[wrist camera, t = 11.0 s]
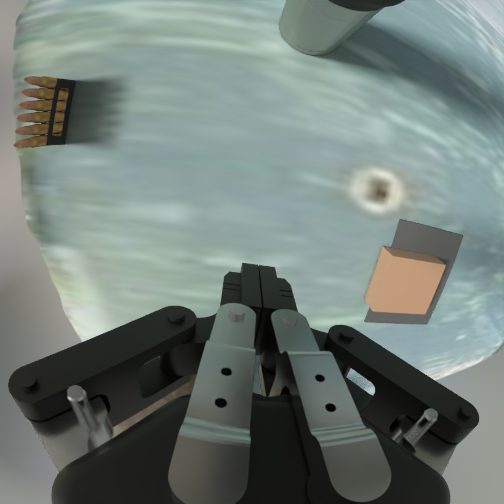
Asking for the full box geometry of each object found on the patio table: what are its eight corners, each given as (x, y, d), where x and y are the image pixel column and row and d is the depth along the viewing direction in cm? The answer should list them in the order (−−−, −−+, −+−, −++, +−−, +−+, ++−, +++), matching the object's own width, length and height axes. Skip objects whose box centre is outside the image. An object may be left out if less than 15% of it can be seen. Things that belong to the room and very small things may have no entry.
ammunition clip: (67, 81, 32) (21, 73, 21) (75, 80, 32) (30, 71, 21) (56, 143, 36) (9, 152, 25) (64, 144, 36) (17, 152, 25)
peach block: (392, 256, 40) (445, 265, 41) (382, 246, 44) (434, 255, 45) (372, 311, 44) (425, 314, 45) (364, 298, 48) (415, 302, 49)
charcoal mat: (399, 219, 42) (400, 219, 42) (462, 235, 44) (462, 235, 43) (364, 321, 50) (364, 322, 50) (426, 323, 51) (426, 324, 51)
